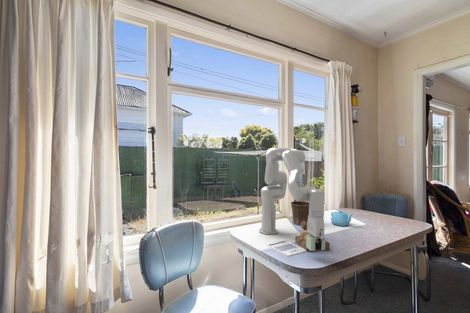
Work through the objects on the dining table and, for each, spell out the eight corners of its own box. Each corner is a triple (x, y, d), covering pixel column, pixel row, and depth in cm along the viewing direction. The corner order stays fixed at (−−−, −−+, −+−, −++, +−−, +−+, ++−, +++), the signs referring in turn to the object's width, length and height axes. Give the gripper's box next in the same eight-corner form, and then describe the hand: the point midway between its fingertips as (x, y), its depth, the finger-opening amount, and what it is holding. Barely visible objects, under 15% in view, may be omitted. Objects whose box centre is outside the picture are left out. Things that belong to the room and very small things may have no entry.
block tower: (295, 242, 151) (295, 229, 151) (316, 241, 154) (316, 228, 154) (306, 251, 137) (306, 237, 137) (329, 249, 140) (329, 235, 140)
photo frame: (287, 255, 130) (266, 244, 146) (287, 257, 130) (266, 246, 146) (307, 249, 138) (285, 240, 153) (307, 251, 138) (285, 241, 153)
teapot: (349, 214, 180) (326, 209, 194) (348, 229, 180) (326, 223, 195) (357, 212, 188) (335, 207, 202) (357, 226, 188) (335, 221, 202)
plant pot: (309, 228, 182) (309, 206, 182) (287, 224, 190) (287, 203, 190) (313, 222, 196) (314, 202, 196) (293, 219, 204) (294, 200, 204)
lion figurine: (300, 235, 164) (300, 222, 164) (300, 233, 169) (301, 220, 169) (323, 238, 159) (323, 224, 159) (323, 236, 164) (324, 222, 164)
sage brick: (306, 247, 132) (306, 235, 131) (319, 246, 133) (320, 235, 133) (310, 250, 127) (311, 239, 127) (324, 249, 128) (325, 238, 128)
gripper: (302, 209, 137) (301, 242, 138) (318, 217, 120) (317, 254, 121) (314, 209, 139) (313, 241, 139) (332, 217, 122) (331, 253, 122)
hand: (315, 247), depth 130 cm, fingers closed on sage brick, 4 cm apart
